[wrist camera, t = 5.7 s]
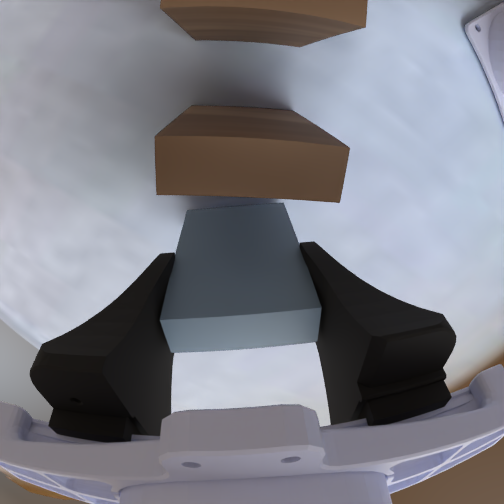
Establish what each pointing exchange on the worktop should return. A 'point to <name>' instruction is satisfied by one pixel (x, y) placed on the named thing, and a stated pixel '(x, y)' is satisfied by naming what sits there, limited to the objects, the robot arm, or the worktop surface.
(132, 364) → the robot arm
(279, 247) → the placed domino
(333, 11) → the domino
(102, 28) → the worktop surface
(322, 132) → the domino
